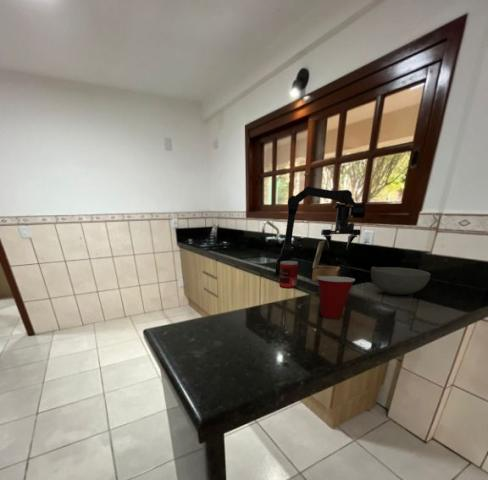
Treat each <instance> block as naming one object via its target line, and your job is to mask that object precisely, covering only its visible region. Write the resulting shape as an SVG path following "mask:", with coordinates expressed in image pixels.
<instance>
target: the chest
mask: <svg viewBox="0 0 488 480" xmlns="http://www.w3.org/2000/svg"><path fill="white" fill-rule="evenodd" d="M340 272H341V266H336V265H335V266H333V265H332V266H331V265H317V266H316V267H315V268H312V275H311V281H312V282H318V279H317V277H318V276H337V277H340Z"/></svg>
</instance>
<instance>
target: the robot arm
mask: <svg viewBox="0 0 488 480" xmlns="http://www.w3.org/2000/svg"><path fill="white" fill-rule="evenodd" d="M307 197H315V198H321V199H327V200H331V201H333V202H336V204H335V205H334V206H333V209H337V210H336V218H335V228H334V230H332V229H328V228H327V229H325V228H323V229H321V232H320V234H321V236H323V238H325V240H326V243H327V246H328V251H330V250H331V246H332V243H331V242H332V235H348V236H347V242H346V243H347V244H346V250H347V251H348V250H349V249H350V247H351V244H352V242H353V241H354V240H355V238H358V236H361V233H362V230H361V229H358V228H355V223H354V222H350V223H349V216H350V218H351V219H364V218H365V216H366V212H367V209H366V208H367V207H366V203H365V202H361V203H357V202H356V201H355V200H354V198H353V193H352V191H351V190H349V189H338V190H331V189H325V188H319V187H313V186H309V185H308V186H306V187H305V188H304V189H303V190H301V191H300V192H298V193H297V194H296V195H290V196H289V197H288V200H287V221H286V228H285V235H284V242H283V245H282V249H281V252H280V255H279V256H278V257H277V258H276V262H275V273H274V275H279V276H280V262H281V261H291V259H292V257H293V256H294V255H293V253H294V249H295V248H294V246H292V240H293V234H294V224H295V219H296V215H297V211H298V210H299V209H298V208H299V205H300V203H301V202H302V201H304V200H305V199H306V198H307ZM354 228H355V229H354Z"/></svg>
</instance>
